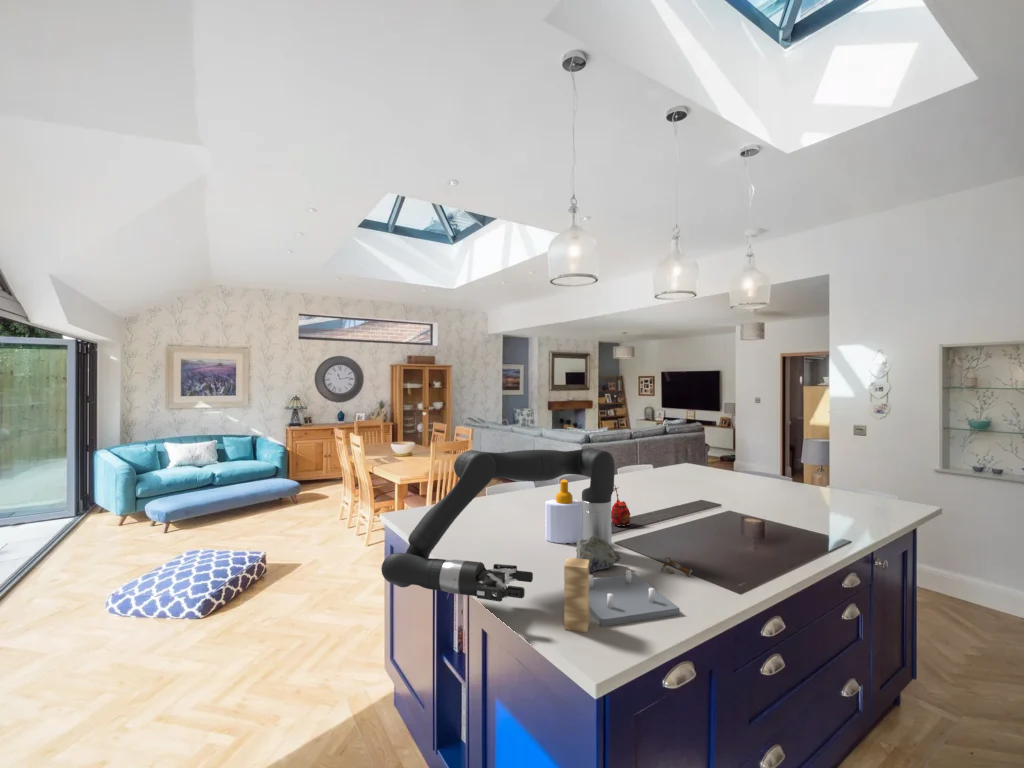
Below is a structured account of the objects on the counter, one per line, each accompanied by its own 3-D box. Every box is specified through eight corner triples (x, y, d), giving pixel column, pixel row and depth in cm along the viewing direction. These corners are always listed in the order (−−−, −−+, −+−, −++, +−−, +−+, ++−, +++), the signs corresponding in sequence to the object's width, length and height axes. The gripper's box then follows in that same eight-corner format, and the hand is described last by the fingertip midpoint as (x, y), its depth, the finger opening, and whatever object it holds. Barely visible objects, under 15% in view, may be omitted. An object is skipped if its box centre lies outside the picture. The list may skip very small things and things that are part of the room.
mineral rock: (621, 565, 136) (621, 531, 136) (619, 580, 126) (619, 543, 126) (578, 560, 140) (578, 527, 140) (572, 574, 129) (572, 539, 129)
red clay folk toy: (621, 529, 170) (620, 489, 170) (606, 524, 175) (606, 485, 175) (634, 525, 174) (634, 486, 174) (620, 521, 180) (619, 483, 180)
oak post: (564, 629, 100) (564, 565, 100) (567, 618, 105) (567, 557, 105) (587, 632, 99) (587, 568, 99) (589, 620, 104) (589, 559, 104)
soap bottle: (582, 536, 162) (582, 479, 162) (584, 544, 153) (584, 484, 153) (545, 535, 163) (545, 478, 163) (544, 543, 155) (544, 483, 155)
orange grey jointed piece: (658, 566, 133) (665, 553, 132) (685, 582, 130) (692, 569, 129) (657, 569, 131) (664, 555, 130) (684, 585, 128) (691, 571, 127)
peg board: (567, 587, 121) (567, 570, 121) (635, 579, 126) (634, 562, 126) (601, 626, 102) (601, 606, 102) (679, 614, 107) (679, 595, 107)
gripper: (451, 573, 102) (521, 581, 98) (472, 551, 116) (535, 557, 112) (451, 606, 102) (521, 616, 98) (472, 580, 116) (535, 587, 112)
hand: (528, 584), depth 105 cm, fingers open, 8 cm apart
